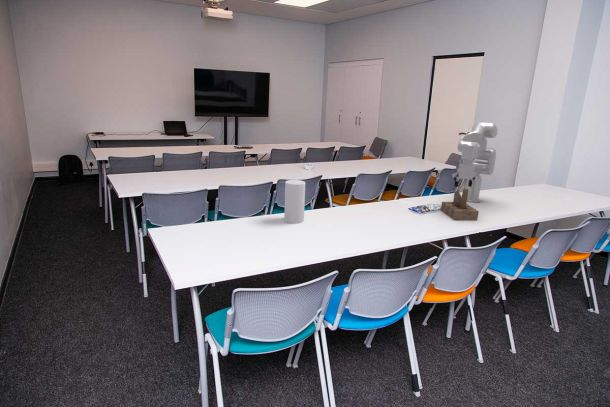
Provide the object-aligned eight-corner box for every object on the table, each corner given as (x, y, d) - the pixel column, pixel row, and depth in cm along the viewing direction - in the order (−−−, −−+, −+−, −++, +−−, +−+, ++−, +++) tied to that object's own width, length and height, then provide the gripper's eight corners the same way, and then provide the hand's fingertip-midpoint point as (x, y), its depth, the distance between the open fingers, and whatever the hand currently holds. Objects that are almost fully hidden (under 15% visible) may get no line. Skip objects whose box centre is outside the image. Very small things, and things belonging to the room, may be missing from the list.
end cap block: (440, 210, 288) (441, 201, 287) (461, 210, 290) (463, 201, 288) (454, 220, 267) (456, 210, 266) (477, 220, 269) (478, 211, 267)
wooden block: (455, 210, 284) (459, 185, 279) (466, 215, 274) (470, 189, 269) (451, 210, 283) (455, 186, 278) (461, 215, 273) (465, 190, 268)
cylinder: (300, 216, 262) (301, 179, 255) (306, 222, 251) (308, 184, 244) (281, 217, 258) (282, 180, 251) (287, 224, 247) (288, 184, 240)
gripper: (456, 162, 264) (453, 187, 269) (481, 163, 266) (477, 187, 271) (451, 160, 271) (448, 185, 276) (476, 160, 273) (472, 185, 278)
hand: (462, 186), depth 273 cm, fingers open, 9 cm apart
